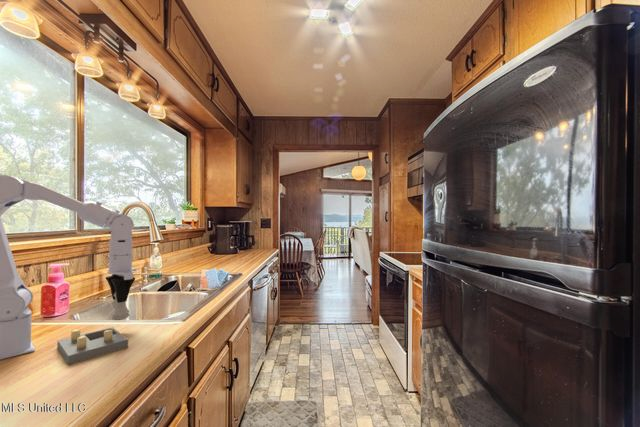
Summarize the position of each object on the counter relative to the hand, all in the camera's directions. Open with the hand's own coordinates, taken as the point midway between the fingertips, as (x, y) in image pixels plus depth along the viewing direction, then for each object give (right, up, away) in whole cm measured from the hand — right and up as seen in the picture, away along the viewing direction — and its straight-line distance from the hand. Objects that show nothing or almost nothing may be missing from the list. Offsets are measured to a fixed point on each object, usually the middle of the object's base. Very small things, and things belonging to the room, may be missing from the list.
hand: (119, 300), depth 86 cm
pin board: (0, -9, -10) cm, 14 cm away
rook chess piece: (0, -5, 0) cm, 5 cm away
